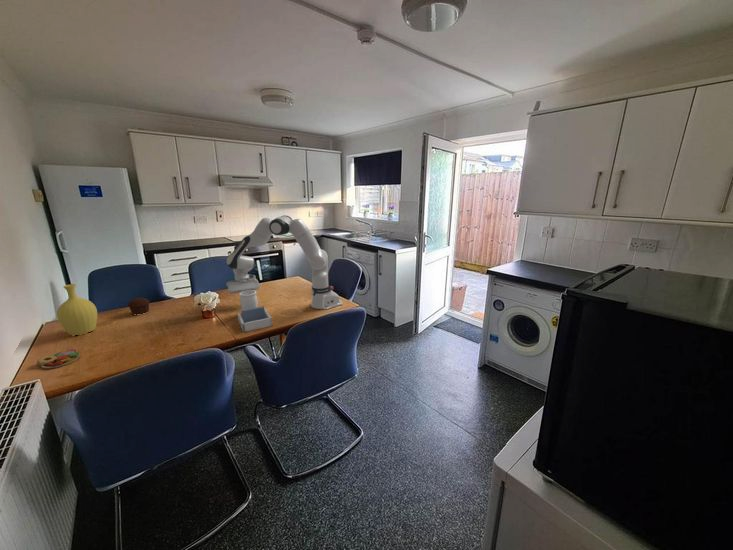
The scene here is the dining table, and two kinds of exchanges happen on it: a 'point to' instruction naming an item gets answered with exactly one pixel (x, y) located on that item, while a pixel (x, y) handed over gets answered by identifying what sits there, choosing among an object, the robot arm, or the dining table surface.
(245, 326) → the open storage bin
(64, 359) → the toy food set
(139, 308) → the muffin
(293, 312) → the dining table surface
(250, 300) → the jar
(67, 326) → the vase
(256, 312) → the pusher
